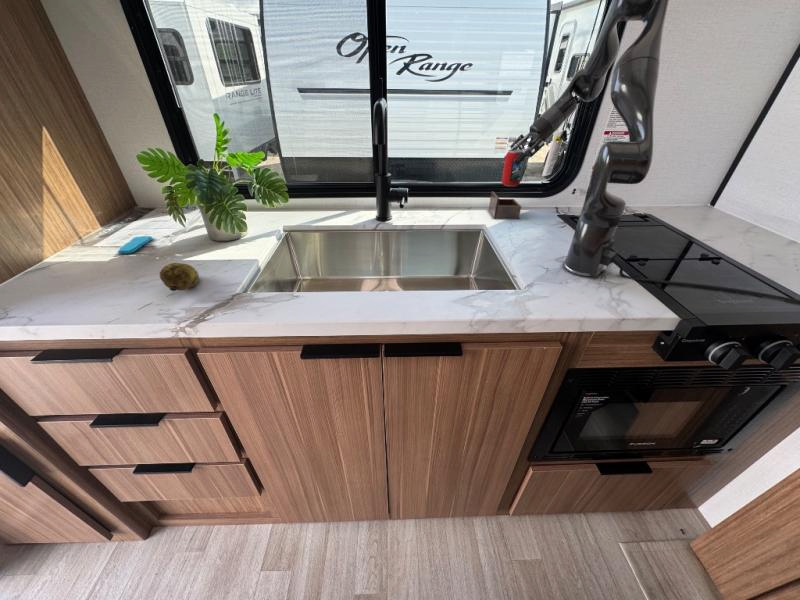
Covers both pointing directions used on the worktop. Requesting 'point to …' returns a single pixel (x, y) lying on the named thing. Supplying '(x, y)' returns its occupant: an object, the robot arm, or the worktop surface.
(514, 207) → the box
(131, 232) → the worktop surface
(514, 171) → the beverage can
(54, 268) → the worktop surface
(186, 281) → the potato
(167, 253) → the worktop surface
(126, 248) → the sponge
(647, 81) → the robot arm
